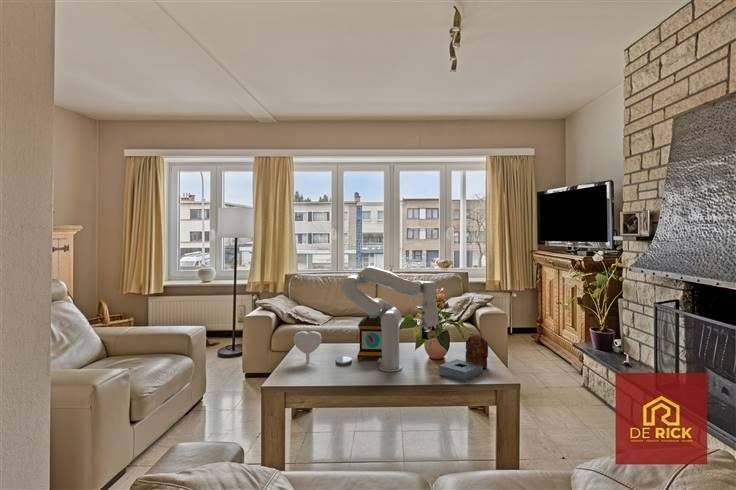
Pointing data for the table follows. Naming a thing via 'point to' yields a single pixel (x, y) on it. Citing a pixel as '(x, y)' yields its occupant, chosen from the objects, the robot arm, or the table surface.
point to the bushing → (430, 337)
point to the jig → (460, 370)
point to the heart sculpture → (307, 344)
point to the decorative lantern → (370, 337)
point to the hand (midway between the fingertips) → (428, 337)
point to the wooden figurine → (477, 350)
